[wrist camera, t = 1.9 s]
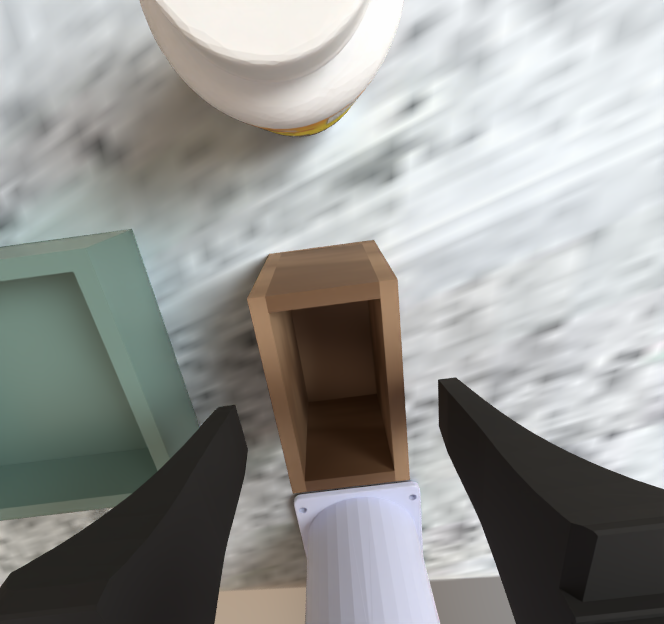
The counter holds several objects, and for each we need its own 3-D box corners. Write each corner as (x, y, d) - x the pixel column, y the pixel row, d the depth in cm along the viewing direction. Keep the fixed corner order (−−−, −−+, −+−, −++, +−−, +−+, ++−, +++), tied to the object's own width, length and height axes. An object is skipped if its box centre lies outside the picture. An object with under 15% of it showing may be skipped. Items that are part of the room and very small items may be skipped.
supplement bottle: (194, 63, 15) (-33, -96, 5) (287, -72, 13) (204, -638, 4) (301, 168, 16) (274, 191, 7) (394, 58, 15) (525, -103, 5)
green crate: (207, 442, 23) (185, 498, 19) (-1, 467, 23) (-63, 528, 19) (135, 227, 17) (85, 247, 14) (-133, 264, 18) (-251, 293, 14)
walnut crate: (386, 394, 21) (409, 479, 16) (300, 405, 21) (292, 493, 16) (373, 239, 18) (397, 279, 12) (269, 253, 18) (246, 298, 12)
